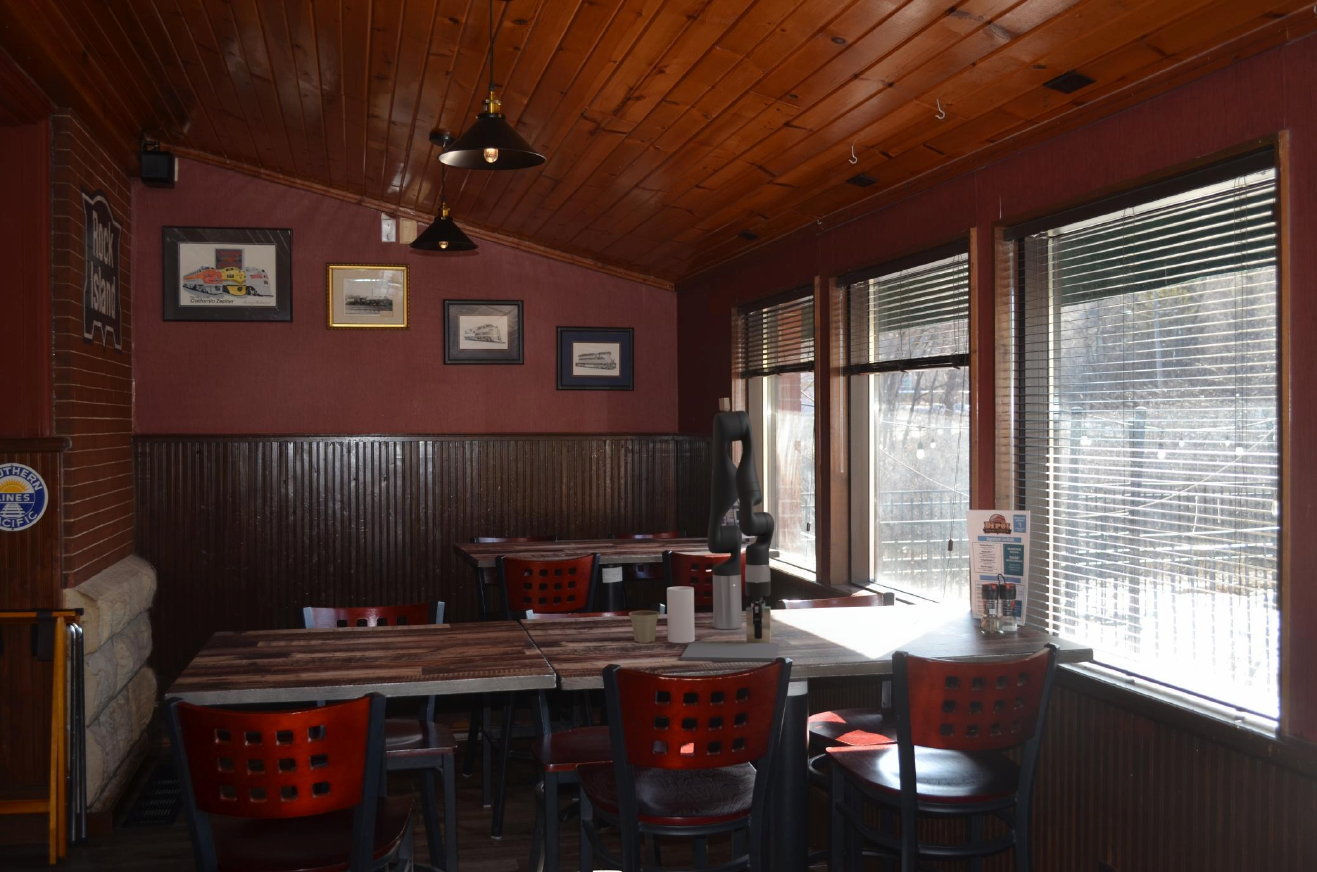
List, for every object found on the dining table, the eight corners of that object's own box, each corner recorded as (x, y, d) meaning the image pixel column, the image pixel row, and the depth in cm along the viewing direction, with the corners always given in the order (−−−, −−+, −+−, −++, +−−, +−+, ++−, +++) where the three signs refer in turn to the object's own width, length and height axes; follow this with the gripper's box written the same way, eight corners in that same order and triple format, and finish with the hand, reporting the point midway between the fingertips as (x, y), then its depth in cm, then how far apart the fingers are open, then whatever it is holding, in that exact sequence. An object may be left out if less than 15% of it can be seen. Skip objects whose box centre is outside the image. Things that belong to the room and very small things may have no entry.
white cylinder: (670, 643, 323) (669, 590, 323) (665, 638, 331) (664, 586, 331) (697, 642, 325) (696, 589, 325) (691, 637, 333) (690, 585, 333)
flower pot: (635, 645, 321) (635, 616, 321) (624, 640, 330) (624, 612, 330) (664, 642, 325) (664, 614, 325) (653, 637, 334) (652, 609, 334)
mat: (690, 645, 319) (690, 642, 319) (778, 646, 315) (778, 643, 315) (680, 660, 298) (680, 656, 298) (774, 661, 293) (774, 658, 293)
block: (747, 643, 322) (747, 606, 322) (771, 643, 320) (770, 606, 321) (746, 645, 318) (746, 608, 318) (770, 646, 317) (769, 608, 317)
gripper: (747, 576, 327) (748, 632, 327) (743, 582, 313) (744, 641, 313) (771, 576, 326) (772, 633, 325) (769, 582, 312) (770, 641, 311)
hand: (758, 636), depth 319 cm, fingers closed on block, 4 cm apart
